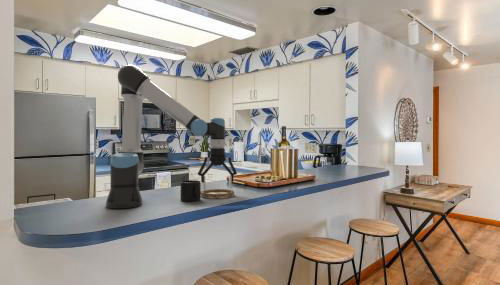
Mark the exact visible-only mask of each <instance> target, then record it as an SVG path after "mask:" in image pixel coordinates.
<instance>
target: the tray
mask: <svg viewBox="0 0 500 285" xmlns="http://www.w3.org/2000/svg"><path fill="white" fill-rule="evenodd" d="M234 195H235V190H234V189H233V190H232V189H227V188H226V189H224V188H212V189H202V190H201V198H203V199H210V200H211V199H214V200H215V199H217V200H218V199H220V200H221V199H230V198H233V197H234Z"/></svg>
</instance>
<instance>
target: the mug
mask: <svg viewBox="0 0 500 285" xmlns="http://www.w3.org/2000/svg"><path fill="white" fill-rule="evenodd" d="M201 183H202V182H201V180H194V179H193V180H192V179H191V180H189V179H188V180H187V179H186V180H181V181H180V201H181V202H184V203H195V202H196V203H197V202H199V201H200V200H201V198H202V197H201V191H202V190H201Z"/></svg>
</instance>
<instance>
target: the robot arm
mask: <svg viewBox="0 0 500 285" xmlns="http://www.w3.org/2000/svg"><path fill="white" fill-rule="evenodd" d="M117 79H118V80H117V81H118V83H119V84H120V86H121V88H120V89H121V90H120V96H121V97H122V98H123V118H122V135H121V136H122V139H121V140H122V142H121V148H120V149H119V150H118V151H117V152H118V153H114V154H112V155H111V156H110V160H109V163H110V189H109V192H108V195H107V198H106V200H105V207H106V208H108V209H109V208H110V209H128V208H129V209H130V208H135V207H136V208H137V207H140V206H142V205H143V198H142V195H141V192H140V189H139V176H140V175H141V174H142V173H143V171H144V170H145V162H144V151H143V150H142V149H141V143H142V124H143V123H142V120H143V101H144V100H145V99H146V100H148V101H149V102H150V103H152V104H153V105H155V106H156V107H157V108H158V109H160V110H161V111H163V112H164V113H166V115H168V116H169V117H171V118H172V119H174V120H175V121H176V122H178V123H179V124H180V125H181V126H183V127H184V128H186V129H187V130H186V134H187V136H188V137H210V147H211V148H210V153H209V154H210V155H209V157H206V156H205V157H204V158H203V162H202V164H201V166H200V168H199V170H198V173H197V175H198V176H200V178H201V179H200V181H201V183H202V184H203V187H202V188H203V189H202V190H206V179H207V178H206V174H207V173H208V172H209V171H210V170H211V168H213V166H214V167H217V166H223V168H224V169H225V170H226V171H227V172H228V174H229V175H228V188H229V189H232V188H233V186H232V183H233V182H234V176H236V175H237V174H238V172H237V171H236V168H235V166H234V164H233V162H232V158H231V156H228V157H226V148H225V147H226V135H225V134H226V124H225V122H226V121H225V119H224V118H223V117H212V118H211V117H210V120H209V121H205V120H203V119H201V118H200V117H198V116H197V115H196V114H195V113H193V112H192V111H191V110H189V108H187V107H186V106H184V105H183V104H181V103H180V102H178V101H177V99H176V98H174V97H172V96H171V95H170V94H169V93H167V92H166V91H165V90H163V89H161V88H160V87H159V86H158V85H156V84H155V83H154V82H152V80H151V77H150V76H148V75H147V74H146V73H145V72H143V70H142V69H141V68H139V67H138V66H136V65H134V64H127V65H124V66H122V67H121V68H120V69H119V71H118V73H117ZM209 161H210V163H209V165H208V166H207V167H206V168H205V166H206V164H207V162H209ZM225 161H227V162H228V165H229V167H230V168H231V169H230V168H229V167H228V166H227V164H226V163H225ZM204 168H205V169H204Z"/></svg>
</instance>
